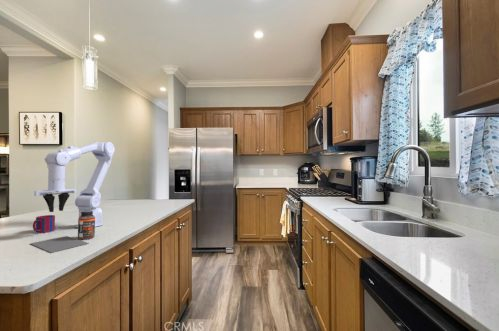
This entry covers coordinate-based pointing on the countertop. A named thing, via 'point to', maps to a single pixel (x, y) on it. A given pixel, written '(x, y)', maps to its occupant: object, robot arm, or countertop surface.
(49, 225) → the mug
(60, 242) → the mat
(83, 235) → the supplement bottle
